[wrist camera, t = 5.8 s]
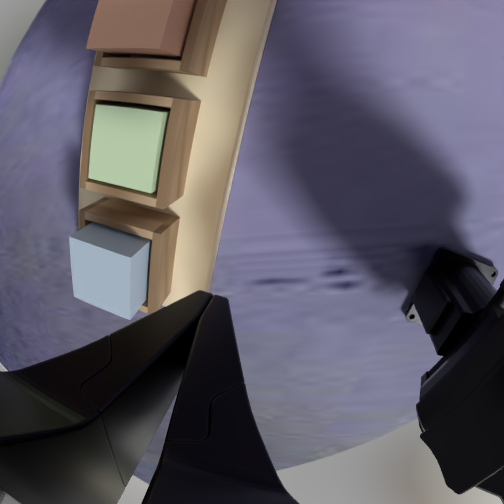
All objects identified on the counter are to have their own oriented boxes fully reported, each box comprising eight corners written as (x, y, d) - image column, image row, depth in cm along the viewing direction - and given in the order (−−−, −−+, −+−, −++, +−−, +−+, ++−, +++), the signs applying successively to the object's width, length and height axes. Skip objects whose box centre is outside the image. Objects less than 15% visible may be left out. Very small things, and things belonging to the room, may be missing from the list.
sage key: (185, 111, 17) (163, 112, 14) (172, 181, 19) (151, 193, 16) (123, 103, 17) (95, 104, 14) (114, 168, 19) (88, 178, 16)
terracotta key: (204, -12, 12) (184, -33, 9) (184, 57, 14) (159, 48, 11) (134, -11, 12) (107, -25, 9) (116, 54, 14) (85, 48, 11)
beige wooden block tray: (280, -13, 14) (272, -47, 10) (207, 303, 25) (186, 343, 20) (132, -18, 15) (94, -38, 10) (93, 264, 25) (60, 292, 21)
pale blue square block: (154, 236, 18) (130, 258, 16) (150, 294, 20) (130, 320, 18) (97, 219, 19) (69, 236, 16) (97, 275, 21) (74, 296, 18)
